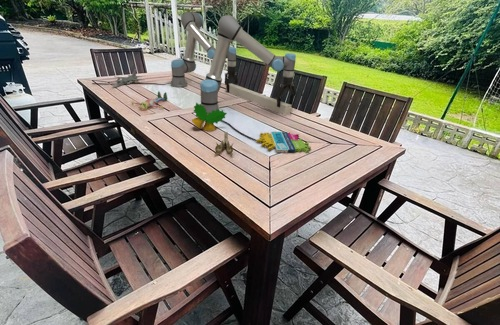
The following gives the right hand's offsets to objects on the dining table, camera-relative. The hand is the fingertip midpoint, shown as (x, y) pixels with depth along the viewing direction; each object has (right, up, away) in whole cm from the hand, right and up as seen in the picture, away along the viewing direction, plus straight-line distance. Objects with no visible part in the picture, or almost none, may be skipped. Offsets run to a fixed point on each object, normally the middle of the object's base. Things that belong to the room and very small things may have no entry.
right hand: (284, 105), depth 198 cm
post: (-23, +9, +25) cm, 35 cm away
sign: (-8, -32, -46) cm, 56 cm away
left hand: (-44, +23, +48) cm, 69 cm away
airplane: (-144, +33, +52) cm, 156 cm away
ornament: (-52, -22, -33) cm, 66 cm away
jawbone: (-40, -37, -59) cm, 81 cm away
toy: (-100, 0, 0) cm, 100 cm away
